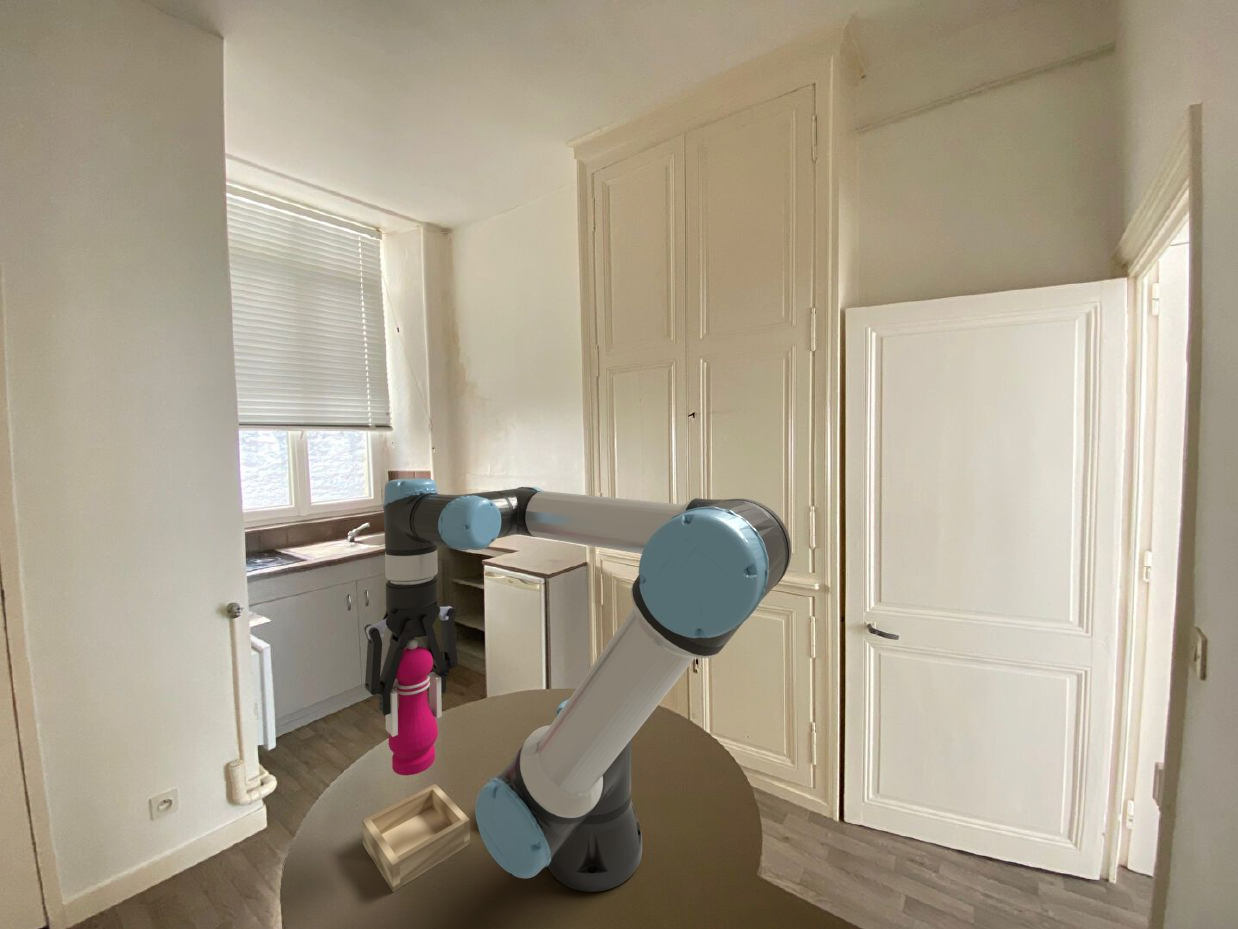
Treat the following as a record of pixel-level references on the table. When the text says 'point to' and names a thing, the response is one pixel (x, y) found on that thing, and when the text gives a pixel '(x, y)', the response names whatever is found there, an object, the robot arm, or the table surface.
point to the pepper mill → (414, 713)
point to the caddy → (415, 835)
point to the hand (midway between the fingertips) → (414, 722)
